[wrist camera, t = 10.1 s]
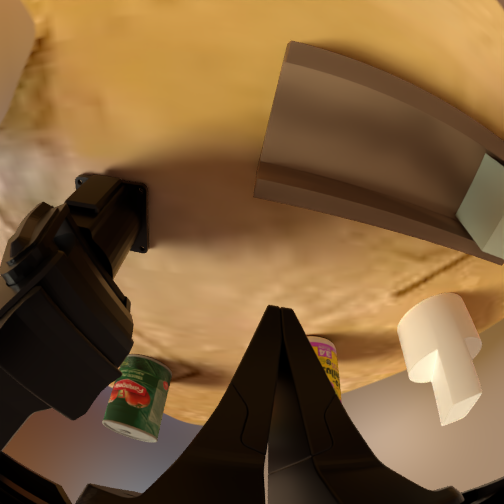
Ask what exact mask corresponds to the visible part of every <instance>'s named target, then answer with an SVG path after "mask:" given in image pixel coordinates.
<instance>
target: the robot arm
mask: <svg viewBox="0 0 504 504" xmlns="http://www.w3.org/2000/svg"><path fill="white" fill-rule="evenodd" d="M80 180H81V181H82V182H81V181H80ZM75 184H76V191H75V192H74V193H73V194H72V195H71V196H70V197H69V198H68V199H67V200H66V201H65V202H64V204H62V205H60V206H58V207H55V208H54V207H53V206H50V205H48V204H47V203H45V202H42V203H40V204H38V205H37V206H36V207H35V208H34V209H33V210H32V211H31V212H30V213H29V214H28V215H27V216H26V217H25V218H24V219H23V221H22V222H21V223H20V225H19V227H18V229H17V231H16V233H15V234H14V235H13V236H12V237H11V238H10V239H9V240H8V243H7V246H6V249H5V252H4V255H3V259H2V262H1V266H0V275H1V276H0V504H72V503H71V501H70V500H69V498H68V496H67V495H66V493H65V491H64V489H63V488H62V486H60V485H59V484H57V483H55V482H53V481H51V480H49V479H47V478H45V477H43V476H41V475H40V474H38V473H36V472H34V471H33V470H31V469H29V468H27V467H26V466H24V465H23V464H21V463H19V462H18V461H16V460H15V459H13V458H11V457H10V456H8V455H7V454H5V453H4V452H2V451H3V449H4V448H5V447H6V445H7V444H8V443H9V442H10V440H11V439H12V438H13V437H14V435H15V434H16V433H17V431H18V430H19V429H20V428H21V427H22V425H23V424H24V423H25V422H26V420H27V419H28V418H29V417H30V416H31V415H32V414H33V413H35V412H38V411H43V410H46V409H51V408H53V409H55V410H56V411H58V412H59V413H61V414H62V415H64V416H65V417H67V418H69V419H70V420H76V419H77V418H79V417H80V416H82V415H84V414H85V413H86V412H87V411H88V409H89V408H90V406H91V405H92V403H93V402H94V400H95V399H96V398H97V396H98V395H99V394H100V392H101V391H102V390H104V388H106V387H107V386H108V385H109V384H110V383H112V382H113V381H115V380H117V379H118V378H120V377H121V376H122V372H121V371H120V370H119V369H118V368H119V367H120V366H121V364H122V363H123V361H124V360H125V359H126V357H127V356H128V355H129V353H130V350H131V348H132V346H133V343H134V341H133V340H132V332H133V325H134V324H133V320H132V316H131V314H130V306H131V302H130V300H129V299H128V298H127V297H126V296H124V295H123V293H122V292H121V290H120V289H119V288H118V286H117V285H116V284H115V282H114V281H113V279H114V277H115V275H116V274H117V272H118V270H119V268H120V266H121V265H122V263H123V261H124V259H125V258H126V256H127V254H128V252H129V251H134V252H139V253H146V252H147V251H148V249H149V229H148V187H147V185H145V184H144V183H139V182H133V181H126V180H122V179H120V178H116V177H109V176H102V175H92V176H90V175H79V176H78V177H77V178H76V179H75ZM139 188H141V189H142V190H143V192H141V191H140V190H139ZM141 246H142V247H144V248H142V247H141ZM335 393H336V392H335V390H334V388H333V386H332V384H331V382H330V380H329V378H328V376H327V374H326V372H325V370H324V368H323V366H322V364H321V363H320V361H319V359H318V357H317V355H316V353H315V351H314V349H313V347H312V345H311V343H310V341H309V340H308V338H307V336H306V334H305V332H304V330H303V328H302V326H301V324H300V322H299V320H298V319H297V317H296V315H295V313H294V311H293V310H292V309H291V308H285V307H281V308H280V307H278V306H273V305H268V306H267V308H266V310H265V312H264V314H263V316H262V319H261V321H260V323H259V325H258V327H257V329H256V331H255V333H254V335H253V338H252V340H251V342H250V344H249V346H248V348H247V350H246V352H245V354H244V356H243V358H242V360H241V362H240V364H239V366H238V368H237V370H236V372H235V374H234V376H233V378H232V380H231V383H230V384H229V386H228V388H227V390H226V392H225V394H224V396H223V397H222V399H221V401H220V403H219V405H218V406H217V408H216V409H215V411H214V412H213V414H212V415H211V417H210V418H209V419H208V421H207V422H206V423H205V425H204V426H203V427H202V429H201V430H200V431H199V433H198V434H197V435H196V437H195V438H194V439H193V440H192V442H191V443H190V444H189V446H188V447H187V448H186V450H185V451H184V452H183V453H182V454H181V456H180V457H179V458H178V459H177V460H176V461H175V462H174V463H173V464H172V465H171V466H170V467H169V468H168V469H167V470H166V471H165V472H164V473H163V474H162V475H161V476H160V477H159V478H158V479H157V480H156V481H155V483H153V484H152V485H151V486H150V487H149V488H148V489H147V490H146V491H145V492H144V493H138V492H134V491H128V490H122V489H115V488H110V487H105V486H100V485H96V484H91V483H90V484H87V485H86V487H85V488H84V490H83V492H82V493H81V495H80V496H79V498H78V500H77V501H76V504H265V488H264V462H265V455H266V450H267V444H268V504H504V477H501V478H499V479H497V480H494V481H492V482H490V483H487V484H484V485H482V486H479V487H476V488H473V489H470V490H467V491H464V492H461V493H460V492H459V491H458V490H457V489H455V488H454V487H453V486H447V487H444V488H441V489H437V490H434V491H431V490H427V489H425V488H423V487H421V486H419V485H417V484H416V483H414V482H412V481H410V480H408V479H407V478H405V477H403V476H402V475H400V474H398V473H396V472H395V471H393V470H391V469H390V468H388V467H387V466H385V465H384V464H383V463H382V462H381V461H379V460H378V458H377V457H376V456H375V455H374V453H373V452H372V451H371V449H370V448H369V446H368V445H367V443H366V442H365V440H364V439H363V437H362V436H361V434H360V433H359V431H358V430H357V428H356V427H355V425H354V424H353V422H352V421H351V419H350V417H349V416H348V414H347V412H346V410H345V409H344V407H343V405H342V403H341V401H340V399H339V397H338V395H337V394H335Z"/></svg>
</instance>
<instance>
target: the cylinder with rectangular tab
mask: <svg viewBox="0 0 504 504" xmlns="http://www.w3.org/2000/svg"><path fill="white" fill-rule="evenodd" d="M397 333H398V336H399V340H400V344H401V347H402V351H403V355H404V359H405V363H406V367H407V371H408V375H409V378H410V380H411V381H413V382H418V383H426V382H432V385H433V389H434V394H435V398H436V402H437V407H438V412H439V416H440V421H441V426H444V425H446V424H449V423H452V422H455V421H457V420H460V419H462V418H464V417H465V416H466V415H467V414H468V412H469V411H470V410H471V408H472V407H473V405H474V404H475V403H476V401H477V400H478V398H479V397H480V395H481V394H482V390H481V386H480V382H479V379H478V376H477V373H476V370H475V367H474V364H473V361H472V360H473V359H474V358H475V356H476V355H477V354H478V353H479V351H480V349H481V346H482V342H481V339H480V337H479V335H478V332H477V330H476V328H475V325H474V323H473V321H472V318H471V316H470V314H469V312H468V310H467V308H466V306H465V303H464V301H463V299H462V298H461V297H460V296H459V295H458V294H454V293H441V294H438V295H434V296H431V297H429V298H427V299H425V300H423V301H421V302H420V303H418V304H416V305H415V306H414V307H412V308H411V309H410V310H409V311H408V312H407V313H406V314H405V315H404V316H403V317H402V319H401V320H400V322H399V324H398V328H397Z"/></svg>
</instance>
